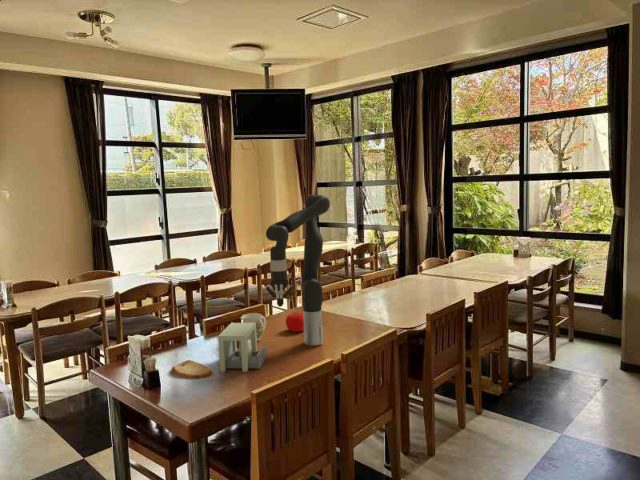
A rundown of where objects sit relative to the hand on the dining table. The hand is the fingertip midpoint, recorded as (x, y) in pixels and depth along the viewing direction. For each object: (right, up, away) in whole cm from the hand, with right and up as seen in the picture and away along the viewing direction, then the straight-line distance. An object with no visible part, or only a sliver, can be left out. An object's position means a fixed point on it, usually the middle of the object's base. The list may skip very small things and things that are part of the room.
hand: (280, 306), depth 222 cm
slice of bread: (-38, -28, -10) cm, 48 cm away
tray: (-15, -26, -2) cm, 30 cm away
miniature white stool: (-19, -26, -1) cm, 32 cm away
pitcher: (-16, -22, +33) cm, 43 cm away
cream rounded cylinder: (-16, -24, -2) cm, 29 cm away
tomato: (+5, -20, +45) cm, 50 cm away
